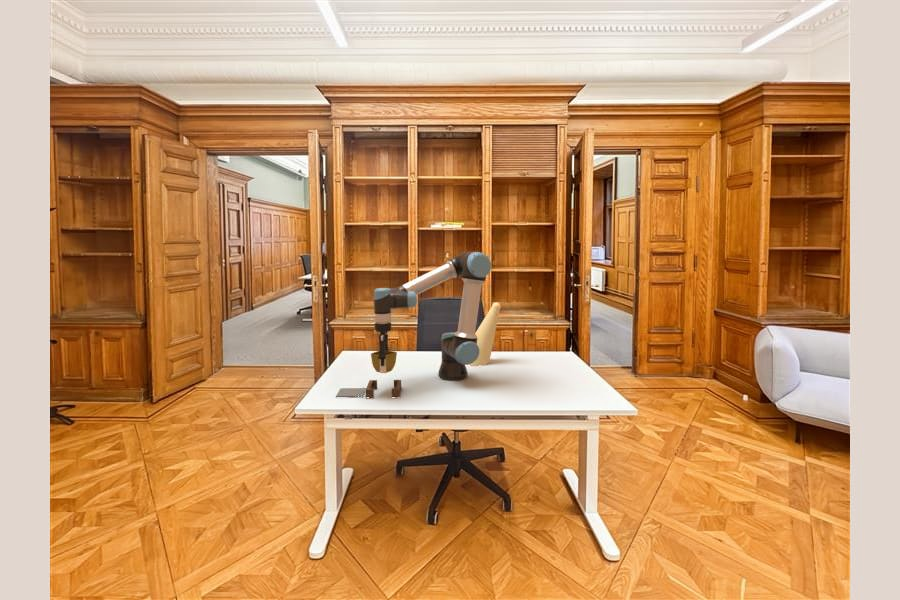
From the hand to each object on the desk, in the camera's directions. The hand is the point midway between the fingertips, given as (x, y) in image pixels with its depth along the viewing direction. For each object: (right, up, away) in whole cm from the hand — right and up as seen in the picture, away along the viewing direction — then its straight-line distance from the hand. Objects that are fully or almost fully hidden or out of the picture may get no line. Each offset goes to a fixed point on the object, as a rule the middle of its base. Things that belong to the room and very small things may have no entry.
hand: (384, 369), depth 229 cm
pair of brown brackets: (0, -11, +1) cm, 11 cm away
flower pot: (0, -1, 0) cm, 1 cm away
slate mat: (-15, -11, +1) cm, 19 cm away
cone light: (+47, -4, +58) cm, 74 cm away
